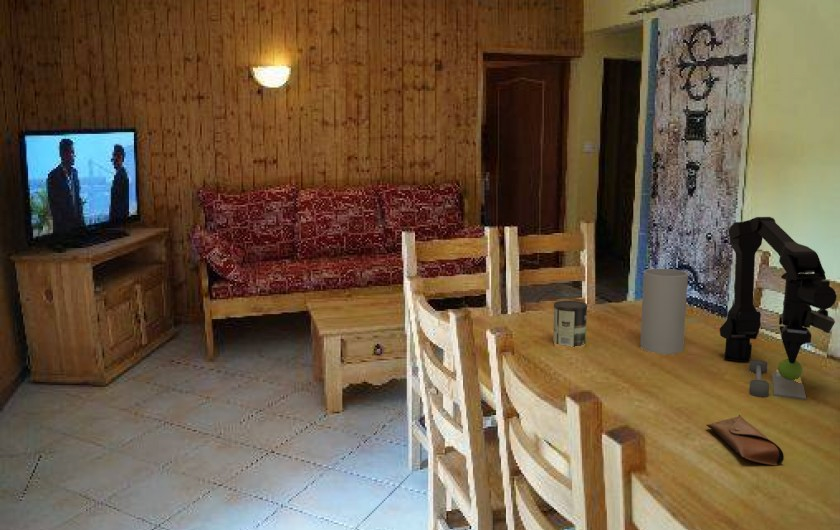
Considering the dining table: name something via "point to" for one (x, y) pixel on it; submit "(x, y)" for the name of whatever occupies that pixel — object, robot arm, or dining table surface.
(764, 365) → the gray dumbbell
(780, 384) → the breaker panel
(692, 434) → the dining table surface
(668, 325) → the cylinder vase
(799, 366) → the green bulbous piece
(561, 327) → the coffee can
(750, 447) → the sunglasses case
